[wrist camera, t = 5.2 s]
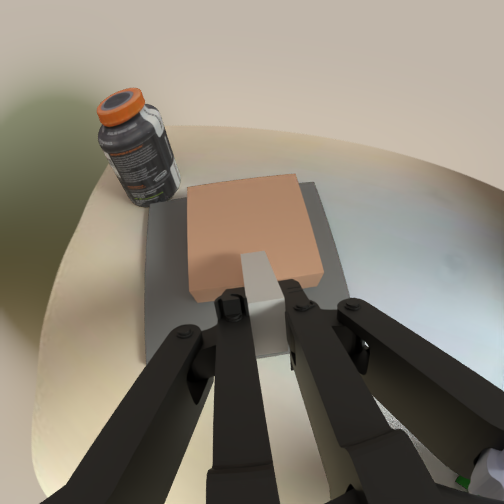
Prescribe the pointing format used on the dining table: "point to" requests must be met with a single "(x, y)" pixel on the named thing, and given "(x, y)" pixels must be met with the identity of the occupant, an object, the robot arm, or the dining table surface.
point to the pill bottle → (137, 147)
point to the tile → (248, 233)
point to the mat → (177, 279)
